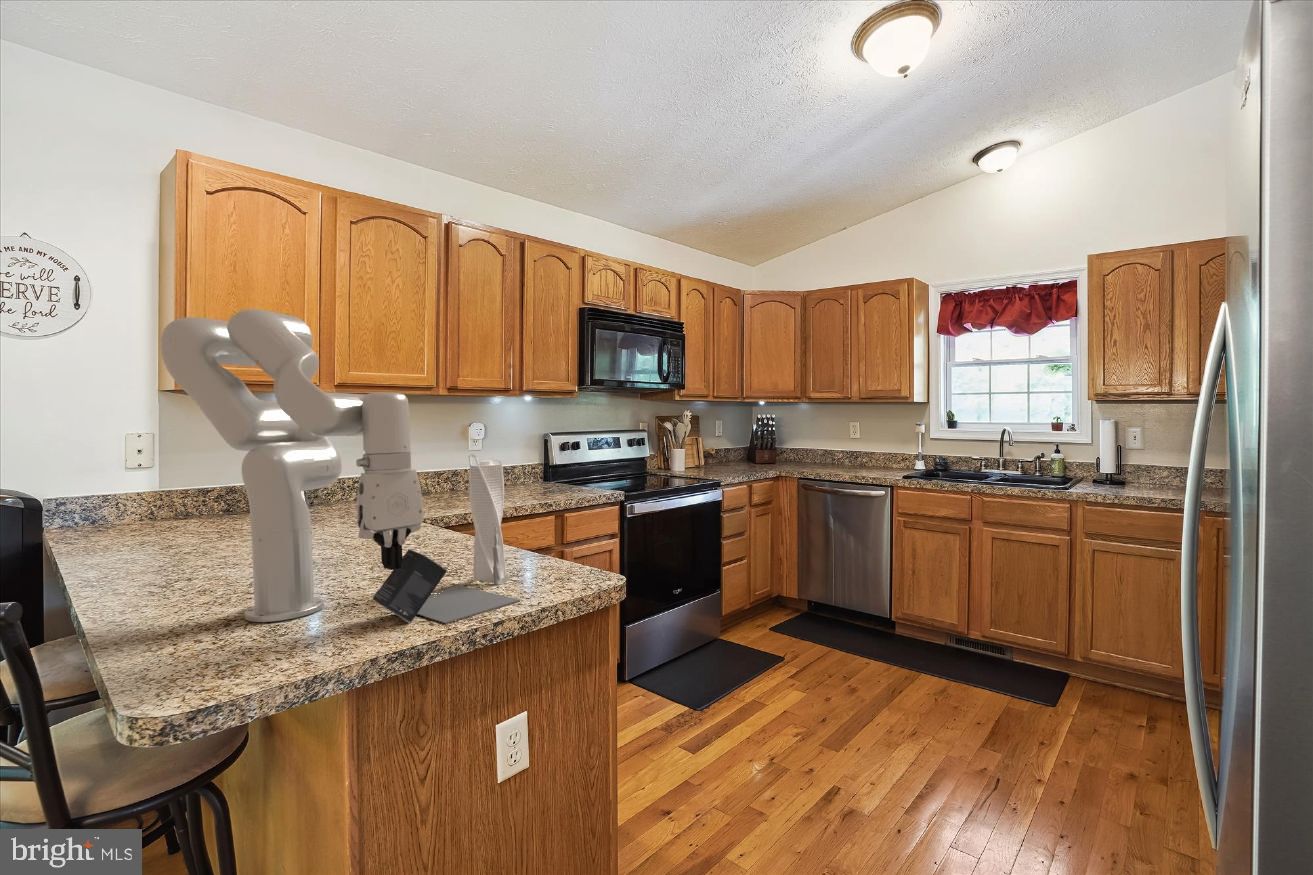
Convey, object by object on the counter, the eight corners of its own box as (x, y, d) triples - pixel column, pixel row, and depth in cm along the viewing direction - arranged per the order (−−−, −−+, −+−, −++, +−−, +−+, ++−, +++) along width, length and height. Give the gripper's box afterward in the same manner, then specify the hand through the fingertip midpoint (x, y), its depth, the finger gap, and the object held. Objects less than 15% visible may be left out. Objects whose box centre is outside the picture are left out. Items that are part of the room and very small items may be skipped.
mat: (385, 605, 117) (385, 603, 117) (459, 586, 129) (459, 585, 129) (445, 624, 104) (445, 622, 104) (520, 601, 117) (520, 599, 117)
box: (411, 623, 105) (448, 570, 109) (383, 608, 103) (423, 553, 107) (397, 613, 111) (433, 563, 116) (370, 598, 109) (408, 547, 113)
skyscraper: (462, 585, 131) (458, 455, 130) (479, 576, 139) (475, 453, 138) (500, 586, 129) (495, 454, 129) (515, 576, 137) (510, 452, 137)
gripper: (354, 467, 99) (359, 580, 99) (438, 461, 110) (442, 562, 111) (333, 466, 103) (338, 574, 104) (416, 460, 115) (420, 557, 115)
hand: (392, 567), depth 107 cm, fingers closed
